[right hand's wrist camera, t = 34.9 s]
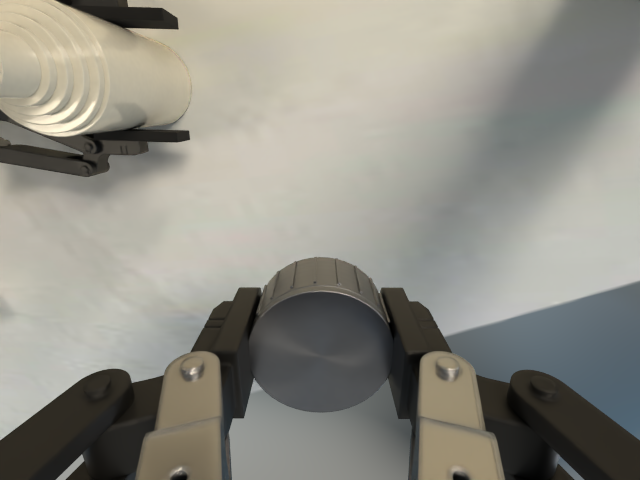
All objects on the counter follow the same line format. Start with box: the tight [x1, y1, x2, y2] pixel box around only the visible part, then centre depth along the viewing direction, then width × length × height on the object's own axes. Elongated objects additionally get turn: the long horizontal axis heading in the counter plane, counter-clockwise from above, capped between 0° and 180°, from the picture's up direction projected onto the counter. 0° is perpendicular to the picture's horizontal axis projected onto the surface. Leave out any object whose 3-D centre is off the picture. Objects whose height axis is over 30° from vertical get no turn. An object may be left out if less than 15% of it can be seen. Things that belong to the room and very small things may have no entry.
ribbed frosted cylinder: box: [0, 0, 192, 137], centre depth 24 cm, size 8×8×19 cm
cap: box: [248, 257, 394, 412], centre depth 11 cm, size 4×4×2 cm
